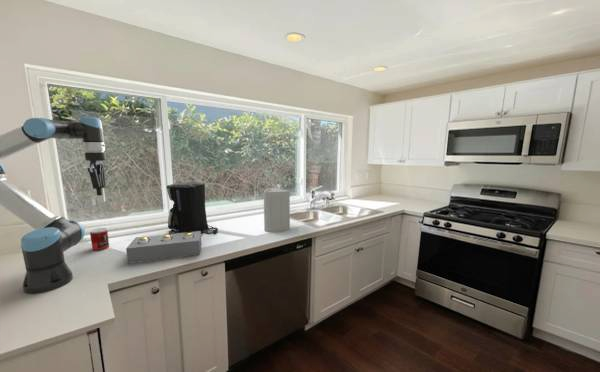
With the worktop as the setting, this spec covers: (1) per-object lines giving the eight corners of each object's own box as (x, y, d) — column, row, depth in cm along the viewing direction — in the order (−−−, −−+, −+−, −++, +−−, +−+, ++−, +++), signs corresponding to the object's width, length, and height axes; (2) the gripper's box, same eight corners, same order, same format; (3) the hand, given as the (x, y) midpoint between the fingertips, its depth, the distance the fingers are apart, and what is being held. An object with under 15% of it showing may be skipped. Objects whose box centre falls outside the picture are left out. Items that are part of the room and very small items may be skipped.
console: (200, 254, 137) (199, 240, 135) (127, 263, 126) (126, 248, 125) (201, 243, 152) (200, 230, 150) (137, 250, 141) (135, 237, 140)
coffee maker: (175, 226, 183) (171, 181, 178) (221, 224, 188) (218, 180, 183) (164, 237, 161) (159, 186, 155) (216, 235, 166) (213, 185, 161)
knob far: (193, 247, 141) (192, 234, 139) (184, 248, 139) (183, 235, 138) (193, 244, 145) (192, 231, 143) (185, 245, 143) (184, 232, 142)
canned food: (100, 251, 140) (97, 232, 139) (88, 250, 142) (86, 231, 140) (112, 246, 148) (110, 228, 146) (101, 245, 149) (99, 227, 147)
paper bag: (256, 228, 179) (255, 190, 174) (271, 223, 190) (271, 187, 185) (275, 234, 167) (274, 193, 162) (290, 229, 178) (290, 190, 173)
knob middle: (171, 249, 137) (170, 236, 136) (162, 250, 136) (161, 237, 135) (172, 246, 141) (171, 233, 140) (164, 247, 140) (162, 234, 139)
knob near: (148, 252, 134) (147, 238, 132) (139, 253, 132) (137, 239, 131) (150, 249, 138) (149, 236, 137) (141, 250, 136) (140, 236, 135)
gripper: (98, 152, 110) (105, 204, 114) (110, 151, 123) (115, 198, 127) (77, 152, 108) (85, 205, 112) (91, 151, 120) (98, 199, 124)
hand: (101, 201), depth 119 cm, fingers closed
